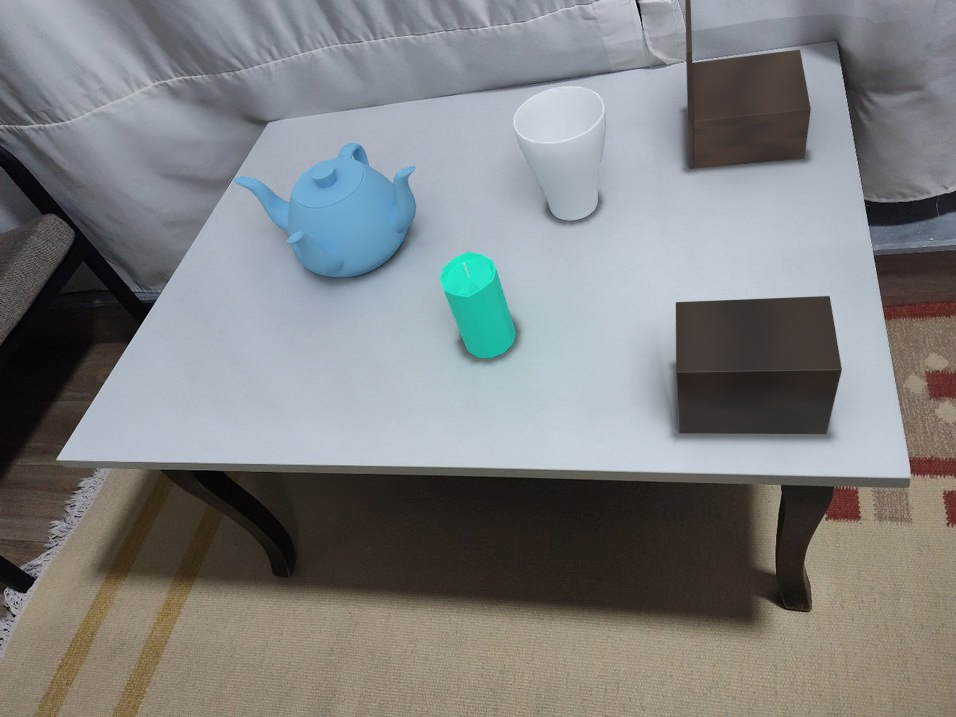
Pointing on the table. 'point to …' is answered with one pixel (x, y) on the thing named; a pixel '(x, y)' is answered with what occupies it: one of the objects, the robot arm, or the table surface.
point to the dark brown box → (756, 365)
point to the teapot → (342, 213)
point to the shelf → (745, 107)
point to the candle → (478, 304)
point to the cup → (564, 146)
